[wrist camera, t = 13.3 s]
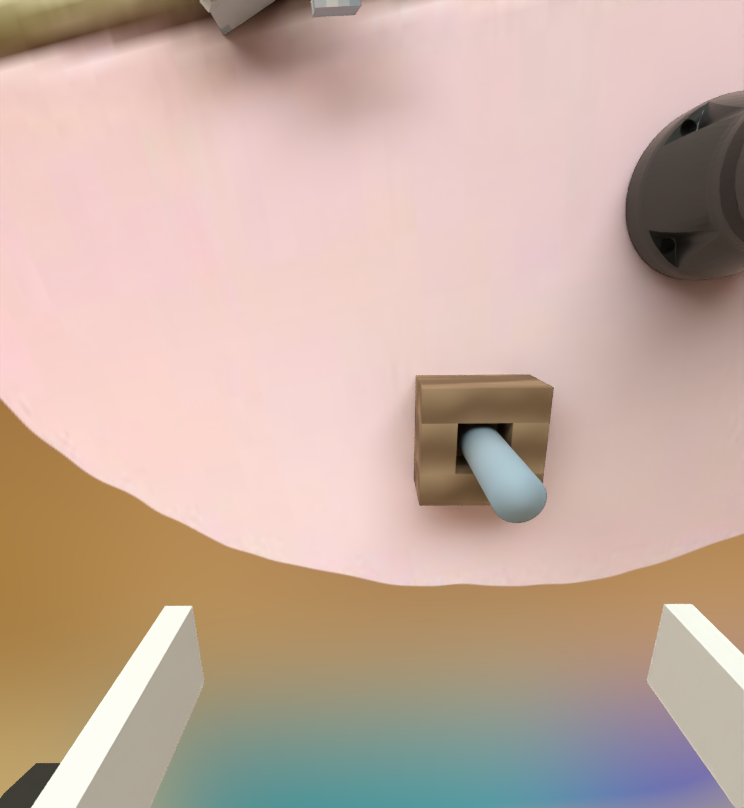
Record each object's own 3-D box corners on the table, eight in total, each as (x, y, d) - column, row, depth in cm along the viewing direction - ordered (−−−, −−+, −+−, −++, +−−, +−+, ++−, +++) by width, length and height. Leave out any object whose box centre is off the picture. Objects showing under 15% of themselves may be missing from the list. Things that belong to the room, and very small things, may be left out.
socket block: (416, 375, 43) (422, 388, 37) (529, 374, 42) (553, 387, 37) (413, 478, 46) (419, 505, 40) (519, 477, 46) (540, 504, 40)
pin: (455, 415, 42) (493, 473, 29) (493, 415, 42) (549, 473, 29) (453, 451, 43) (489, 523, 30) (490, 450, 43) (543, 522, 30)
